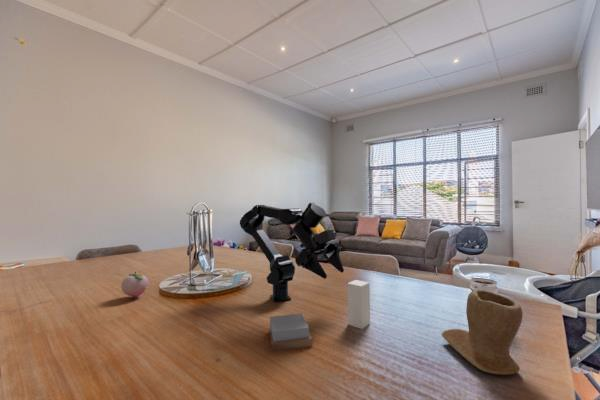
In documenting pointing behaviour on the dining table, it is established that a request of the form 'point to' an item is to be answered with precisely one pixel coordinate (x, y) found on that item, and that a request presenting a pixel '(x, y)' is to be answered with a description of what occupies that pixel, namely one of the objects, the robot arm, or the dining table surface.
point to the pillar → (358, 304)
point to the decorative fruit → (134, 285)
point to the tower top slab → (288, 327)
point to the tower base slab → (291, 343)
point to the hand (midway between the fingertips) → (334, 274)
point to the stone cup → (488, 332)
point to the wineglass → (483, 285)
